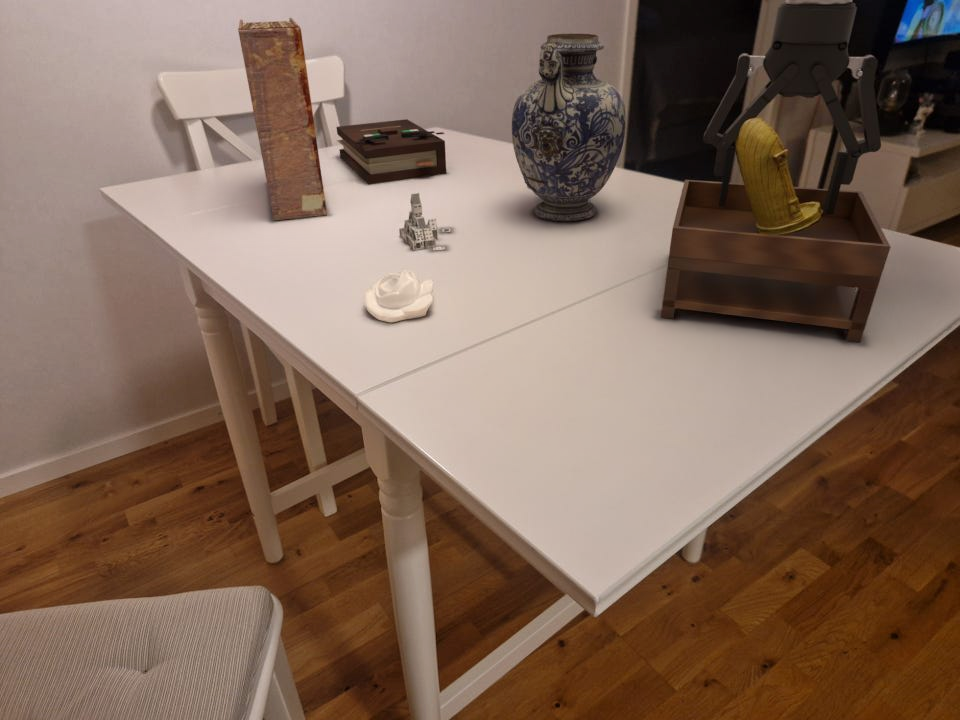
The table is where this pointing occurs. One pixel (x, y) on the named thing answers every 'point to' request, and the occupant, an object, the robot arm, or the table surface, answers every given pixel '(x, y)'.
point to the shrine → (771, 181)
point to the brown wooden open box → (774, 260)
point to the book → (283, 117)
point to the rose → (399, 297)
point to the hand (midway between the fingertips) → (774, 206)
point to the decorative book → (392, 151)
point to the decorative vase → (568, 129)
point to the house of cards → (420, 228)
